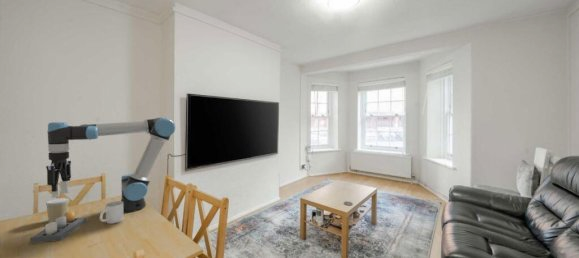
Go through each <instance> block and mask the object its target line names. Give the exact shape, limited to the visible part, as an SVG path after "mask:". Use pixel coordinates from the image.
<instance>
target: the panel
mask: <svg viewBox="0 0 579 258" xmlns="http://www.w3.org/2000/svg"><path fill="white" fill-rule="evenodd" d="M85 223H87V217H75V221H74V222H71V223H66V227H64V228H61V229H57V233H56V234H53V235H46V230H45V229H42V230H41V231H40V232H37V233H36V234H34V235H33V236H31V237H30V243H31V244H32V243H43V242H53V241H55V242H56V241H62V240H63V239H64V238H65V237H67V236H69V235H70V234H72V233H73V232H74V231H76V230H77V229H78V228H79V227H81V226H82V225H84V224H85Z"/></svg>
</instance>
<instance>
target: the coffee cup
mask: <svg viewBox="0 0 579 258" xmlns="http://www.w3.org/2000/svg"><path fill="white" fill-rule="evenodd" d="M45 206H46V210H47V218H48V223H51V222H56V220H55V219H56V218H58V217H62V216H65V213H67V212H69V208H70V199H69V197H57V198H53V199H50V200H48V201H47V202H46V205H45Z"/></svg>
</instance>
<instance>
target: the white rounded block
mask: <svg viewBox="0 0 579 258" xmlns="http://www.w3.org/2000/svg"><path fill="white" fill-rule="evenodd" d="M44 228H45V230H46V235H53V234H56V233H57V222H51V223H49V222H48V223H46V224H45V227H44Z"/></svg>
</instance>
